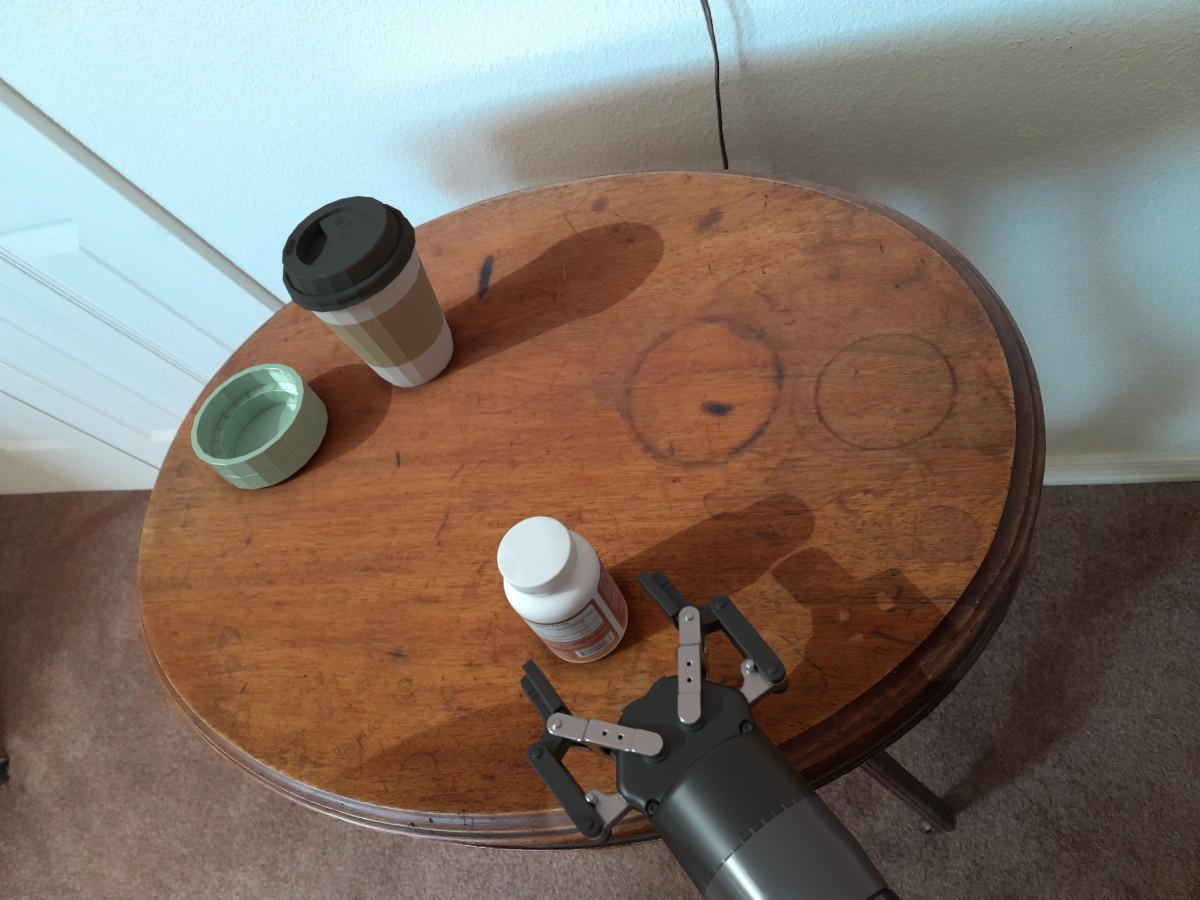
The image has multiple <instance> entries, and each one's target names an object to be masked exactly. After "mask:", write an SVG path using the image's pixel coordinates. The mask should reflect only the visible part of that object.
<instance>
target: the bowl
mask: <svg viewBox="0 0 1200 900" xmlns="http://www.w3.org/2000/svg"><path fill="white" fill-rule="evenodd" d="M328 421H329V416H328V411H327V408H326V405H325V403H324V401H323V400H322V399H321V398H320V396H318V395H317V393H316V392H315V391H314V390H313V389H312V387H310V384H308V383H307V382H306V380H305V379H303V377H302V376H301V375H300V374H299V373H298V372H297V370H295V368H293V367H290V366H288V365H285V364H283V363H262V364H259V365H258V364H257V365H254V366H251V367H248V368H245V369H243V370H241V371H240V372H238V373H236V374H233V375H232V376H230V377H229V378H228V379H227V380H226V381H224V382H223V383H221V384H220V385H218V386H217V387H216V388H215V389H214V390H213V391H212V393H211V394H210V395H209V396H208V397H207V398H206V399H205V400H204V402H203V403H202V405H201V407H200V408H199V410H198V412H197V414H196V415H195V417H194V420H193V423H192V424H193V425H192V427H191V431H190V438H191V439H190V440H191V448H192V449H193V451H194V452H195V455H196V456H197V458H198V459H200V460H201V461H202V462H203V463H205V465H207V466H208V467H209V468H210V469H212V470H213V471H214V472H215V473H216V474H218V475H219V477H221V478H222V479H224V481H225V482H227V483H228V484H231V485H232V486H234V487H236V488H237V489H243V490H244V489H245V490H258V489H262V488H266V487H270V486H274V485H276V484H278V483H280V482H282V481H284V480H286V479H289V478H290V477H291V476H292V475H293V474H295V473H297V472H298V471H299V470H300V469H301V468H303V466H306V464H307V463H308V462H309V461H310V459H311V458H312V457H313V455H314V454H315V453H316V452H317V451H318V449H319V447H320V446H321V444H322V441H323V439H324V438H325V436H326V433H327V426H328Z"/></svg>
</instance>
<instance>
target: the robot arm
mask: <svg viewBox="0 0 1200 900" xmlns="http://www.w3.org/2000/svg"><path fill="white" fill-rule="evenodd" d="M635 578H636V580H637V582H638V584H639V586H640V587H641V589H642V591H643V592H644V593H645V594H646V595H647V597H648V598H649V599H650V600H651V601H652V602H653V604H655V606H656V607H657V608H658V610H660V612H661V613H662V614H663V615H664V616H665V617H666V619H667V620H668V621H669V622H670V624H672V625H673V626H674V628H675V629H676V630H677V631H678V645H677V674H673V675H670V676H666V675H665V674H664V675H662V676H661V677H660V678H659V679H657V680H656V681H655V682H653V684H652V685H651V687H650V688H649V689H648V690H647V692H646V693H645V695H643V696H641V697H639V698H637V699H634V700H632V701H631V702H630V703H628V704H627V705H626V706H625V707H623V708H622V709H620V712H621V715H620V717H619V719H618V721H617V723H612V722H607V721H603V720H599V719H596V718H588V719H587V718H583V717H578V716H574V714H573V712H572V711H571V710H570V709H569V707H568V706H567V704H566V703H565V702H564V700H563V699H562V697H561V696H560V694H559V693H558V692H557V690H556V689H555V687H554V686H553V685H552V683H551V682H550V680H549V679H548V678H547V676H546V675H545V673H544V671H542V669H541V668H540V667H539V665H538V664H537V663H535V661H534V660H533V659H532V658H530V659H528V661H526V662H525V663H524V664H522V665H521V669H522V670H523V671H524V673H525V675H524V676H522V677H521V678H520V680H519V681H520V686H521V689H522V691H523V692H524V694H525V695H526V697H527V698H528V701H530V702H531V705H532V706H533V707H534V709H535V710H536V711H537V713H538V714H539V716H540V717H541V719H542V720H543V724H544V728H543V731H542V732H543V733H542V734H541V736H540V737H539V739H538V740H537V742H534V743H532V744H531V745H530V746H529V747H528V749H527V751H526V759H527V762H528V763H529V764H530V766H531V767H532V768H533V770H534V771H535V773H536V774H537V775H538V777H539V778H540V779H541V781H542V783H544V785H545V787H546V788H547V789H548V791H550V793H551V794H552V796H553V797H554V799H555V800H556V801H557V802H558V804H559V805H560V807H561V808H562V809H563V811H564V812H565V814H566V815H567V816H568V818H569V819H570V820H571V822H572V823H573V825H574V826H575V828H577V830H578V831H579V833H580V834H582V835H583V836H584V837H586V838H587V839H588V840H590V841H591V842H592V843H594V844H596V845H599V846H602V845H606V844H607V843H609V842H610V841H611V839H612V836H613V828H615V827H616V826H617V825H618V824H619V823H620V822H621V821H622V820H623V819H624V818H625V817H626V816H627V815H628V814H629V813H631V811H632V810H634V811H637V812H638V813H641V814H642V815H643V816H644V817H645V818H646V820H648V822H649V823H650V825H651V826H652V828H653V829H654V830H655V831H656V833H657V834H658V836H659V837H660V838H661V840H662V841H663V843H664V844H665V846H666V847H667V849H668V850H669V851H670V853H671V854H672V856H673V857H674V858H675V859H676V861H677V863H678V864H679V866H680V867H681V868H682V870H683V871H684V873H685V874H686V875H687V877H688V878H689V880H690V881H691V883H692V884H693V885H694V887H695V888H696V890H697V892H699V894H700V895H701V897H702V898H703V899H704V900H902V899H901V897H900V896H899V895H898V894H897V892H895V890H894V889H893V888H890V885H889V883H888V882H887V880H886V879H885V878H884V877H883V876H882V874H881V873H880V871H879V870H878V869H877V866H876V865H875V864H874V863H873V861H872V860H871V858H870V856H869V855H868V854H867V852H866V851H865V849H864V847H863V845H861V844H860V842H859V841H858V840H857V838H855V836H854V835H853V834H852V832H851V831H850V830H849V829H848V828H847V826H846V825H845V824H844V823H843V822H842V821H841V820H840V819H839V817H838V816H837V815H836V814H835V813H834V812H833V810H832V809H831V808H830V807H829V806H828V804H826V802H825V801H824V800H823V799H822V798H821V796H820V795H819V794H818V793H817V792H816V790H815V789H814V788H813V787H812V785H810V784H809V782H808V781H807V780H806V779H805V777H804V776H803V775H802V774H801V773H800V772H799V771H798V769H797V768H796V767H795V766H794V765H793V764H792V763H791V762H790V760H789V759H788V758H787V757H786V755H784V753H783V752H782V751H781V750H780V748H778V747H777V745H776V744H775V742H773V741H772V740H771V739H770V737H769V736H768V734H766V732H764V730H763V729H762V727H760V725H759V724H758V723H757V722H756V720H755V718H754V716H753V715H754V714H753V711H752V709H753V708H754V707H755V706H757V705H758V704H760V703H761V702H762V701H763V700H764V699H766V698H767V697H768V696H770V695H771V694H773V695H783V694H785V693H786V692H787V691H788V690H789V687H790V682H789V679H788V675H787V671H786V667H785V665H784V663H783V661H782V660H781V659H780V658H779V656H777V654H776V653H775V651H774V650H773V649H772V648H771V647H770V645H769V644H768V643H767V642H766V641H765V640H764V638H763V637H762V636H761V635H760V633H758V631H757V630H756V629H755V628H754V626H753V625H752V624H751V623H750V621H749V620H748V619H747V618H746V617H745V615H744V613H742V612H741V611H740V610H739V608H738V606H736V605H735V603H734V602H733V601H732V600H731V599H730V597H729V596H727V595H726V594H717V595H715V596H713V597H712V598H711V600H710V601H709V602H706V603H704V604H699V605H698V604H693V603H691V602H690V601H689V600H688V599H687V598H686V597H685V596H684V594H682V592H681V591H680V590H679V589H678V588H677V587H676V586H675V584H673V582H671V580H670V579H669V578H668V577H667V576H666V575H665V574H664V573H662V572H659V571H658V570H657V571H655V572H653V573H652V574H650V573H649V572H648V571H647V570H646V569H645V568H644V569H643V570H642V571H640V572H638V574H636V575H635ZM720 630H721V632H722V633H723V634H724V636H725V637H726V638H727V639H728V640H729V642H730V643H731V644H732V645H733V647H734V648H735V650H736V651H737V652H738V653H739V654H740V656H741V657H742V658H743V659H744V660H743V661H742V662H741V664H740V672H741V675H742V678H743V684H742V686H741V687H740V688H737V687H734V686H733V685H727V684H723V683H719V682H714V681H711V674H710V673H711V669H710V662H709V653H708V635H710V634H713V633H716V632H719V631H720ZM570 749H574V750H579V751H583V752H586V753H591V754H593V755H596V756H598V757H601V758H603V759H606V760H610V761H614V762H615V784H616V785H615V786H616V787H615V788H616V791H617V792H616V793H614V794H611V795H606V794H605V793H603V792H602V791H601V790H600V789H597V788H592V789H589V790H587V791H585V790H584V789H583V788H582V786H581V785H580V784H579V782H578V781H577V780H576V778H575V777H574V776H573V774H572V772H570V771H569V769H568V768H567V766H566V765H565V764H564V763H563V759H564V758H565V756H566V754H567V752H568V751H569V750H570Z"/></svg>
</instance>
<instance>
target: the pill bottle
mask: <svg viewBox="0 0 1200 900" xmlns="http://www.w3.org/2000/svg"><path fill="white" fill-rule="evenodd" d="M496 556H497V557H496V561H497V566H498V570H499V572H500V574H501V576H502V577H503V590H504V593H505V596H506V598H507V600H508V602H509V604H510V606H511V607H512V608H513V609H514V610H515V611H516V613H517V614H518V615H519V616H520V617H521V618H522V620H524V623H526V624H527V625H528V626H529V627H530V629H532V631H533V632H534V633H535V635H537V636H538V638H540V640H541V641H542V642H543V643H544V644H545V645H546V646H547V648H548V649H549V650H550V651H551V652H552V653H553V654H555V656H557V657H558V658H560V659H562V660H565V661H566V662H570V663H576V664H585V663H591V662H595V661H598V660H600V659H602V658H603V657H606V656H608V654H610V653H611V652H613V651H614V650H615V649H616V647H617V646H618V645H619V644H620V642H621V640H622V639H623V637H624V635H625V633H626V630H627V625H628V618H629V617H628V616H629V614H628V613H629V612H628V606H627V602H626V600H625V597H624V595H623V594H622V592H621V590H620V589H619V587H618V585H617V584H616V582H615V581H614V579H613V577H612V576H611V574H610V573H609V571H608V570H607V568H606V566H605V565H604V563H603V562H602V560H601V558H600V557H599V555H598V553H597V552H596V551H595V548H593V546H592V545H591V544H590V542H589V541H588V540H587V539H586V538H585V537H583V536H582V535H581V534H579V533H577V532H575V531H573V530H570V529H568V528H567V527H566V526H565V525H564V523H562V522H560V521H559V520H558V519H556V518H553V517H550V516H543V515H542V516H541V515H540V516H539V515H538V516H532V517H528V518H526V519H523V520H521V521H520V522H518V523H516V524H515V525H513V526H512V527H511V528H510V529H509V530H508V531H507V532H506V533H505V535H504V536H503V537H502V540H501V541H500V543H499V546H498V550H497V555H496Z"/></svg>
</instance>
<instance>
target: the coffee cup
mask: <svg viewBox="0 0 1200 900" xmlns="http://www.w3.org/2000/svg"><path fill="white" fill-rule="evenodd" d="M415 232H416V231H415V228H414V226H413V225H412V223H411V222H410V221H409V219H408V218H407V217H405V215H404V214H403V212H402V211H401V210H400V209H398V208H396V207H394V206H392V205H390V204H388V203H383V202H382V201H381V200H379V199H377V198H375V197H373V196H363V195H355V196H354V195H353V196H348V197H343V198H340V199H337V200H334V201H331V202H328V203H326V204H324V205H322V206H321V207H320V208H318V209H316V210H314V211H313V212H310V214H308V215H307V216H306V217H305V218H304V219H302V220H301V221H300V222H299V223H298V224H297V225H296V227H295V228H294V229H293V230H292V232H291V233H290V234H289V236H288V237H287V239H286V242H285V243H284V247H283V248H282V253H281V263H282V283H283V286H285V289H286V291H287V293H288V294H289V296H290V299H291V301H292V302H293V303H294V304H296V305H297V306H299V307H300V308H301V309H303V310H305V311H310V312H312V313H313V314H314V315H315V316H316V317H317V318H318V319H319V320H320V321H321V322H323V323H324V325H326V326H327V327H328V328H329V329H330V330H331V331H332V332H333V333H334V334H335V335H336V336H337V337H338V338H339V339H340V340H342V341H343V342H344V343H345V344H346V345H347V346H348V347H349V348H350V349H351V350H352V351H353V352H354V353H355V354H357V356H358V357H360V358H361V360H363V361H364V362H365V363H366V364H367V365H368V366H369V367H370V368H371V369H372V370H373V371H374V372H375V373H376V374H377V375H378V376H379V377H381V378H382V379H384V381H386V382H389V383H390V384H392V385H393V386H395V387H399V388H416V387H418V386H421V385H423V384H426V383H428V382H430V381H432V380H433V379H434V378H436V377H437V376H439V375H440V374H441V373H442V372H443V371H444V370H445V369H446V368H447V366H448V364H449V363H450V361H451V359H452V356H453V353H454V341H453V337H452V336H453V335H452V331H451V329H450V327H449V324H448V321H447V320H446V317H445V314H444V313H443V309H442V308H441V305H440V302H439V300H438V298H437V295H436V293H435V291H434V289H433V286H432V283H431V281H430V279H429V277H428V274H427V271H426V269H425V267H424V264H423V262H422V260H421V257H420V255H419V253H418V250H417V248H416V243H417V241H416V233H415Z"/></svg>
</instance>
